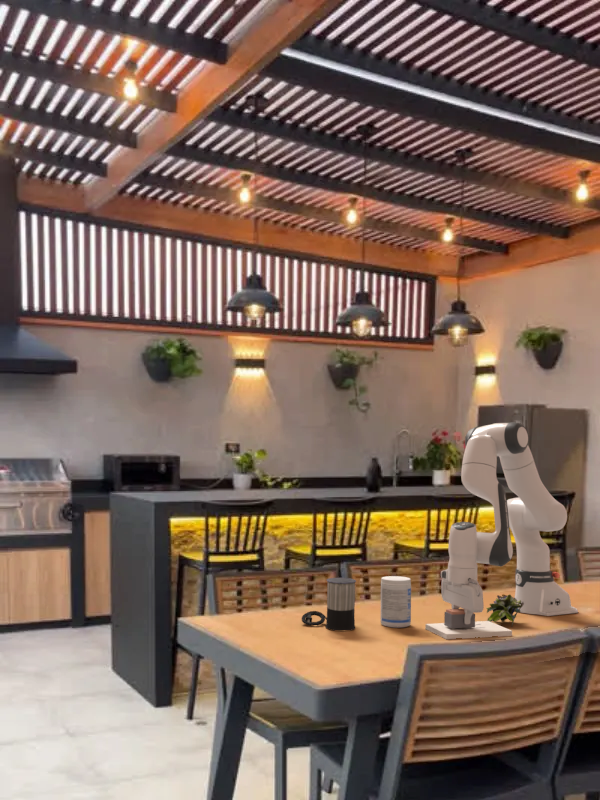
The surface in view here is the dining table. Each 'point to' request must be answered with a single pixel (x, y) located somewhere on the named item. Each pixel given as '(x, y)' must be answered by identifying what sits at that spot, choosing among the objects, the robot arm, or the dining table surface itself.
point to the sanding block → (457, 619)
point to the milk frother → (337, 605)
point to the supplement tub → (395, 601)
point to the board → (469, 630)
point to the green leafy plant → (504, 608)
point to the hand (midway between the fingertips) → (461, 621)
